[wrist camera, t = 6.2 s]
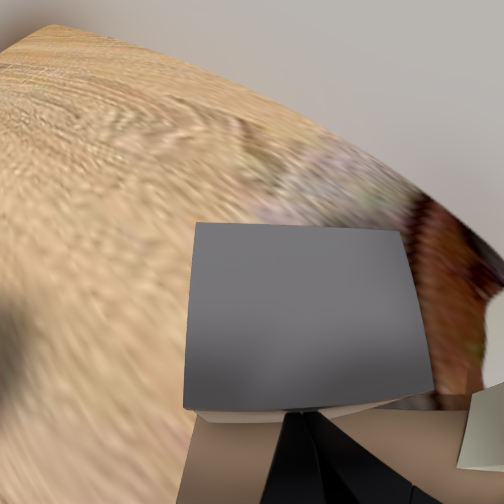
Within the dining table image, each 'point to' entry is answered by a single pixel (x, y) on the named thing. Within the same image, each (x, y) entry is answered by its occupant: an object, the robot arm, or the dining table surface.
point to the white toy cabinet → (300, 322)
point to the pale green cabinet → (484, 432)
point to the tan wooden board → (357, 427)
